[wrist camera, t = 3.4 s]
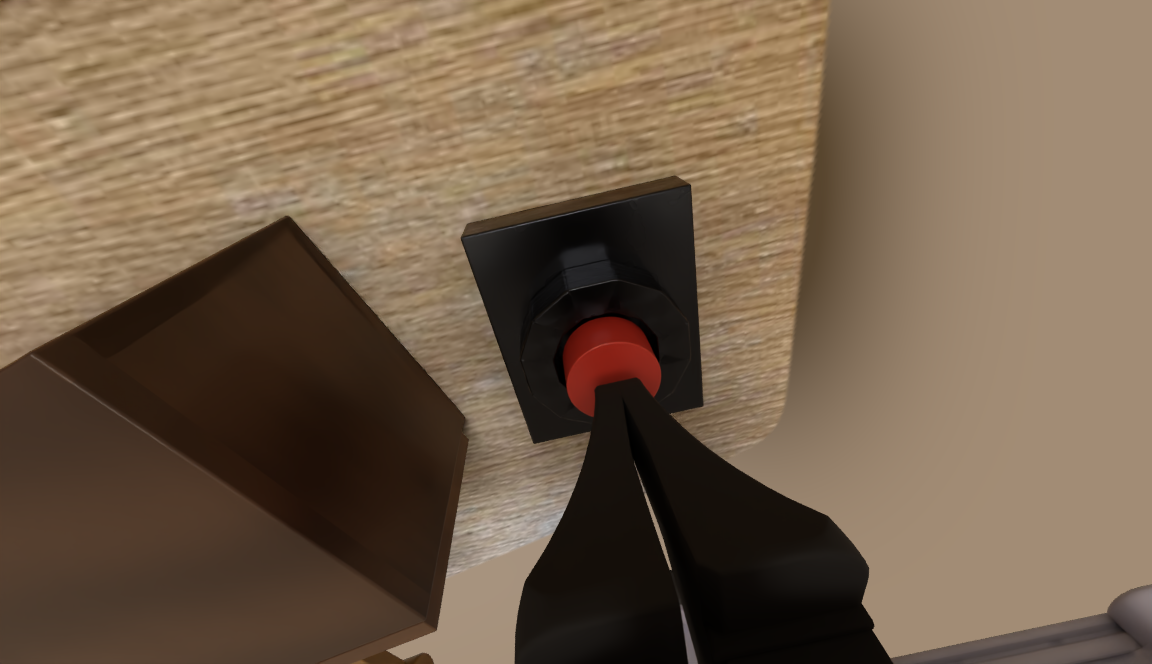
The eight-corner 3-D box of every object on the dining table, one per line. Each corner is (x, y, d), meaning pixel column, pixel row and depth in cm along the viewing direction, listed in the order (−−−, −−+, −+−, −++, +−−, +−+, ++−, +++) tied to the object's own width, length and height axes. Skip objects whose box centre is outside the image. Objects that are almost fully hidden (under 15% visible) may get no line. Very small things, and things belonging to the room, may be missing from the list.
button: (653, 378, 16) (665, 408, 15) (572, 396, 16) (576, 428, 15) (643, 307, 15) (656, 332, 13) (553, 327, 15) (556, 354, 13)
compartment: (465, 417, 20) (427, 620, 13) (241, 522, 22) (88, 753, 15) (288, 214, 15) (28, 351, 7) (14, 377, 17) (-418, 622, 9)
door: (523, 498, 23) (521, 687, 16) (329, 581, 25) (248, 782, 18) (461, 430, 20) (423, 622, 13) (247, 529, 22) (110, 744, 15)
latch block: (691, 384, 21) (719, 434, 18) (533, 419, 21) (533, 475, 18) (676, 174, 16) (711, 195, 13) (466, 223, 16) (451, 255, 13)
